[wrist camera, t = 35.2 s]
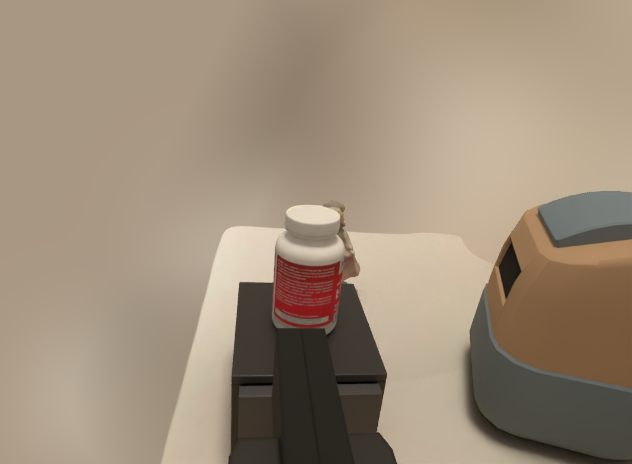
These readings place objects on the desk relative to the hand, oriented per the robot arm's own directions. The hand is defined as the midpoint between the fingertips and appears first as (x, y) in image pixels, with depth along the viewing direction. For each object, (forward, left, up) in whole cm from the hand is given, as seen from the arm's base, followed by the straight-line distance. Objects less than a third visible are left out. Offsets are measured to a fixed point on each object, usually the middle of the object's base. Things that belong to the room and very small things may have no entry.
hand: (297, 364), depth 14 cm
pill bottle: (+4, +24, -16) cm, 29 cm away
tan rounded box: (+30, +23, -25) cm, 46 cm away
